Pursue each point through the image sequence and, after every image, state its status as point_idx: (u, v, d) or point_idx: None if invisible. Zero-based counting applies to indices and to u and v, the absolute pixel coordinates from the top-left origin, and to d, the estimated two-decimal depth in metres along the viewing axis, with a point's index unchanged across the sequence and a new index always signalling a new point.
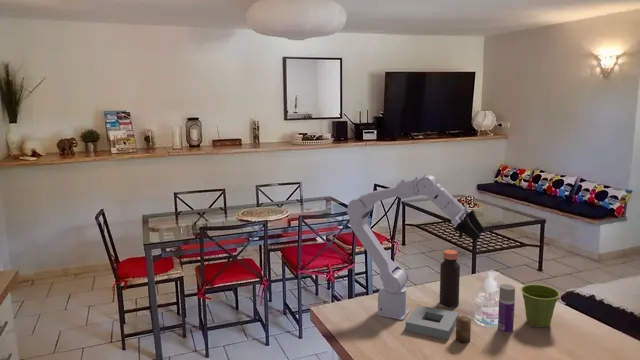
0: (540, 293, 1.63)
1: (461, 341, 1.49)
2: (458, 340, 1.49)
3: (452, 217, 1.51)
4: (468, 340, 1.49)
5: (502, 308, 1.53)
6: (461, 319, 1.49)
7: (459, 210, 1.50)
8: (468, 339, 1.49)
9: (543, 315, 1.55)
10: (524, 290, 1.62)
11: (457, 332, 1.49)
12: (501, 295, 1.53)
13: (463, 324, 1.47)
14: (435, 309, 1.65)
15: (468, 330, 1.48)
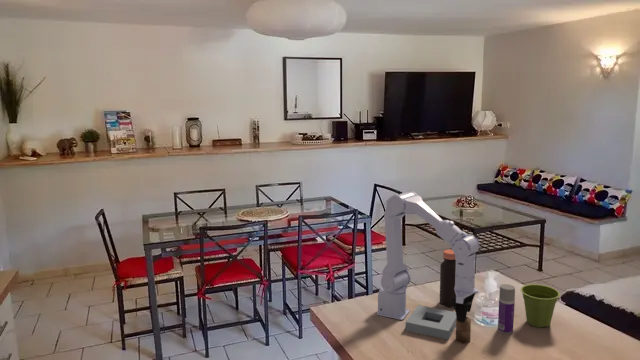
0: (540, 293, 1.63)
1: (461, 341, 1.49)
2: (458, 340, 1.49)
3: (458, 288, 1.46)
4: (468, 340, 1.49)
5: (502, 308, 1.53)
6: None
7: (469, 290, 1.45)
8: (467, 339, 1.49)
9: (543, 315, 1.55)
10: (524, 290, 1.62)
11: (457, 332, 1.49)
12: (501, 295, 1.53)
13: (463, 324, 1.47)
14: (435, 309, 1.65)
15: (468, 330, 1.48)
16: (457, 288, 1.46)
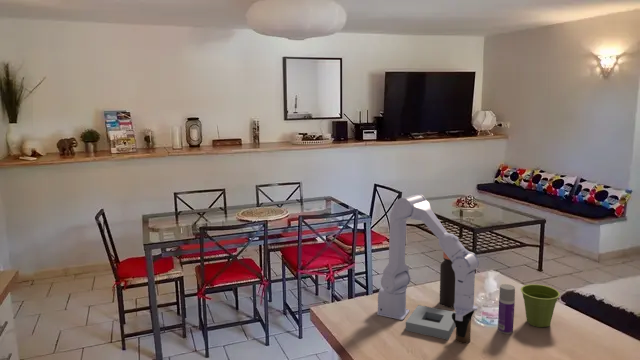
0: (540, 293, 1.63)
1: (461, 341, 1.49)
2: (458, 340, 1.49)
3: (458, 305, 1.47)
4: (468, 340, 1.49)
5: (502, 308, 1.53)
6: None
7: (468, 307, 1.46)
8: (468, 339, 1.49)
9: (543, 315, 1.55)
10: (524, 290, 1.62)
11: None
12: (501, 295, 1.53)
13: None
14: (435, 309, 1.65)
15: (468, 330, 1.48)
16: (456, 305, 1.47)
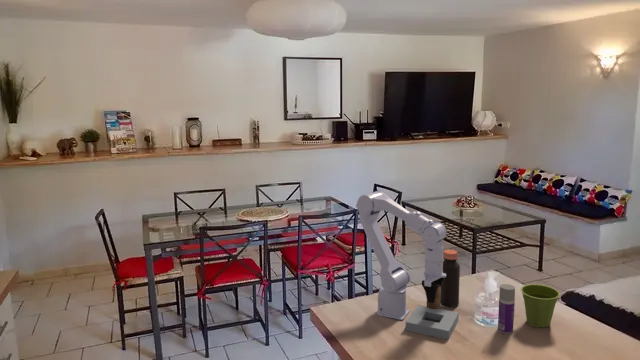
0: (540, 293, 1.63)
1: (431, 307, 1.57)
2: (428, 306, 1.58)
3: (427, 273, 1.55)
4: (438, 306, 1.57)
5: (502, 308, 1.53)
6: None
7: (437, 274, 1.54)
8: (437, 306, 1.57)
9: (543, 315, 1.55)
10: (524, 290, 1.62)
11: None
12: (501, 295, 1.53)
13: None
14: (435, 309, 1.65)
15: (438, 297, 1.56)
16: (426, 272, 1.55)
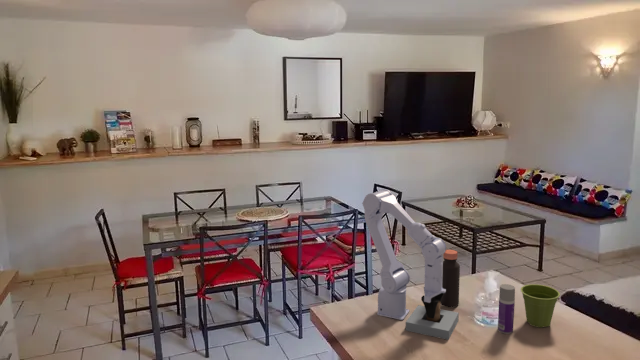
0: (540, 293, 1.63)
1: None
2: None
3: (427, 288, 1.56)
4: (437, 321, 1.58)
5: (502, 308, 1.53)
6: None
7: (437, 289, 1.55)
8: (437, 321, 1.58)
9: (543, 315, 1.55)
10: (524, 290, 1.62)
11: None
12: (501, 295, 1.53)
13: None
14: None
15: (437, 312, 1.57)
16: (426, 288, 1.56)
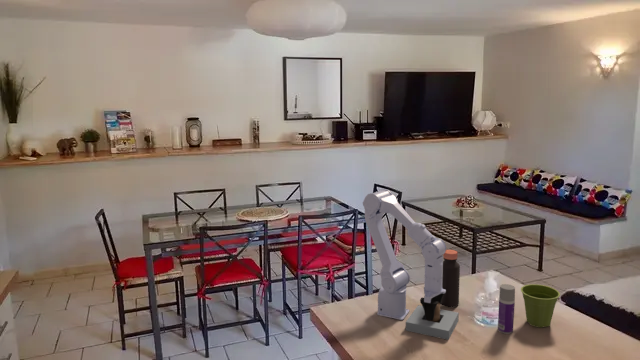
0: (540, 293, 1.63)
1: None
2: None
3: (427, 289, 1.56)
4: None
5: (502, 308, 1.53)
6: None
7: (437, 290, 1.55)
8: None
9: (543, 315, 1.55)
10: (524, 290, 1.62)
11: None
12: (501, 295, 1.53)
13: None
14: None
15: (437, 314, 1.57)
16: (426, 288, 1.56)
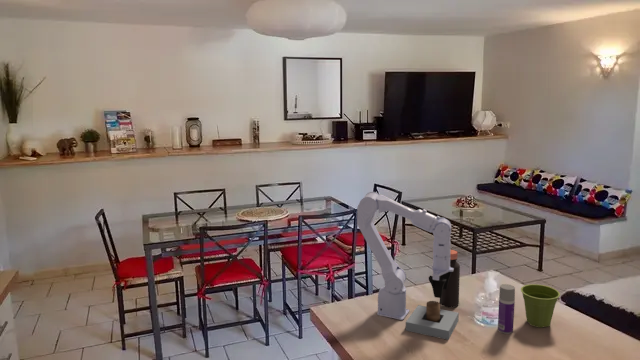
0: (540, 293, 1.63)
1: None
2: None
3: (435, 267, 1.60)
4: None
5: (502, 308, 1.53)
6: (431, 303, 1.59)
7: (445, 268, 1.59)
8: None
9: (543, 315, 1.55)
10: (524, 290, 1.62)
11: (427, 316, 1.58)
12: (501, 295, 1.53)
13: (432, 308, 1.57)
14: None
15: (437, 314, 1.57)
16: (434, 267, 1.60)
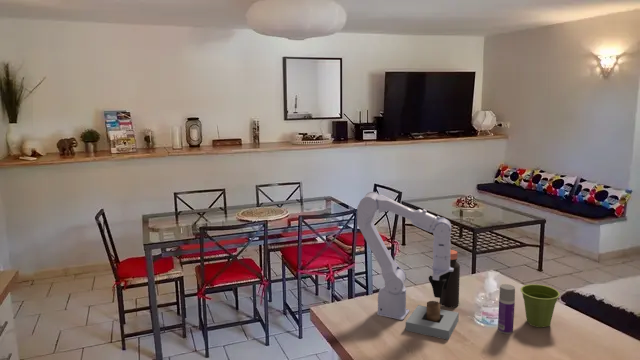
0: (540, 293, 1.63)
1: None
2: None
3: (435, 267, 1.60)
4: None
5: (502, 308, 1.53)
6: (431, 303, 1.59)
7: (445, 268, 1.59)
8: None
9: (543, 315, 1.55)
10: (524, 290, 1.62)
11: (427, 316, 1.58)
12: (501, 295, 1.53)
13: (432, 308, 1.57)
14: None
15: (437, 314, 1.57)
16: (434, 267, 1.60)
